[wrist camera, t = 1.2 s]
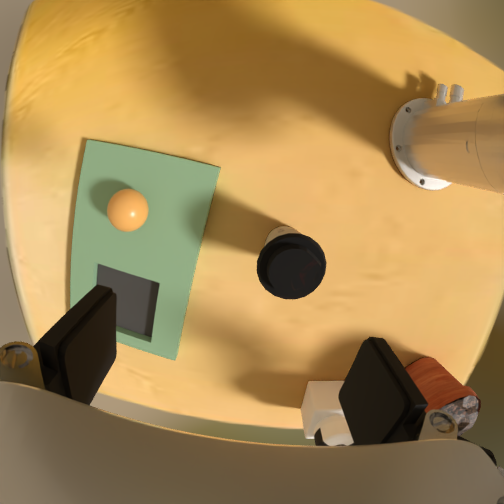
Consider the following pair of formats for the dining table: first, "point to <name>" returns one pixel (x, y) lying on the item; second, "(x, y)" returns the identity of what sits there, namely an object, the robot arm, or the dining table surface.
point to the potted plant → (445, 392)
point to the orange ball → (127, 210)
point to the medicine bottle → (325, 415)
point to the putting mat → (141, 240)
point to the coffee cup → (290, 264)
